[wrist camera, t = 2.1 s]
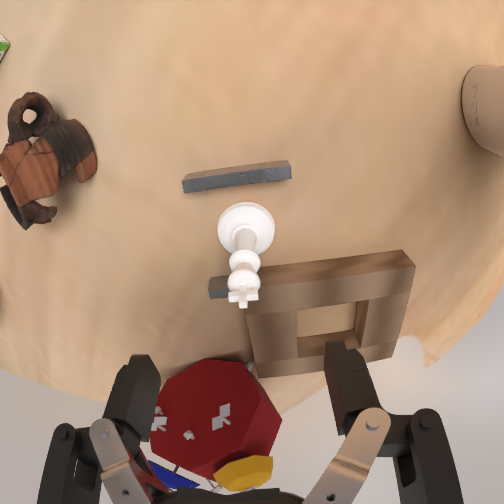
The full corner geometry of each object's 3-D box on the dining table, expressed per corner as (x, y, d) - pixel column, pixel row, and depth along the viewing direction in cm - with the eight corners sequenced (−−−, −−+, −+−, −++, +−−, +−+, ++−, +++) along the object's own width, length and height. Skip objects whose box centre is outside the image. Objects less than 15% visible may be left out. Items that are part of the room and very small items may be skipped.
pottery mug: (112, 199, 23) (43, 254, 18) (66, 180, 26) (11, 221, 21) (87, 71, 15) (-10, 114, 10) (43, 82, 18) (-26, 117, 12)
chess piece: (213, 205, 23) (190, 272, 14) (272, 199, 23) (286, 263, 14) (222, 256, 26) (208, 337, 17) (276, 251, 25) (288, 332, 17)
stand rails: (287, 160, 21) (290, 165, 20) (296, 276, 27) (299, 289, 25) (187, 174, 22) (181, 180, 20) (213, 285, 27) (210, 298, 25)
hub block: (402, 249, 25) (415, 265, 23) (384, 339, 32) (391, 357, 29) (241, 269, 26) (240, 289, 24) (258, 358, 33) (258, 378, 30)
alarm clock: (183, 392, 37) (164, 517, 19) (146, 358, 33) (109, 499, 16) (279, 371, 34) (289, 521, 16) (250, 329, 30) (250, 516, 13)
